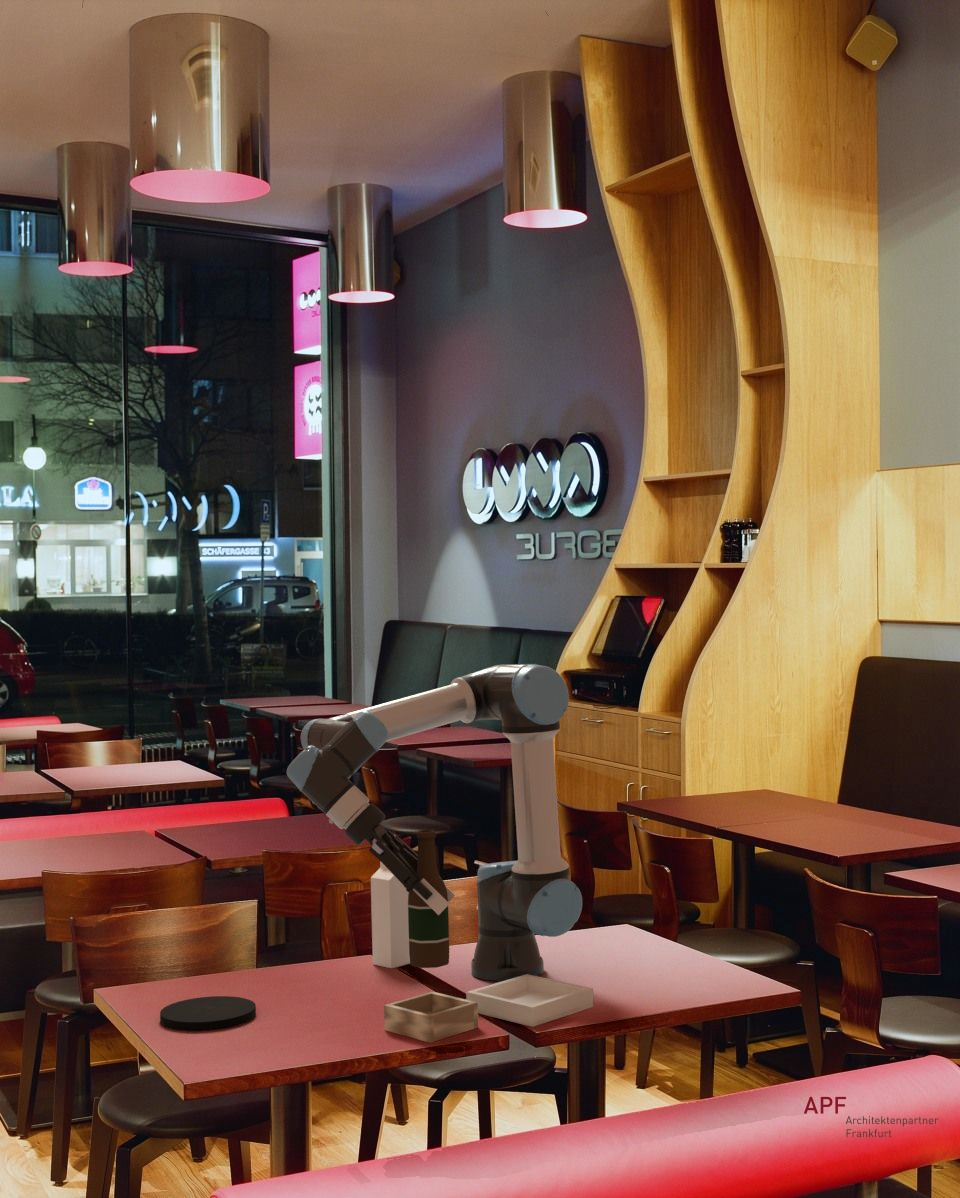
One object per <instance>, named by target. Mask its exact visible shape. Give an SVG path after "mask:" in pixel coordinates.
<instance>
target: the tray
mask: <svg viewBox="0 0 960 1198" xmlns="http://www.w3.org/2000/svg"><path fill="white" fill-rule="evenodd" d="M465 994H466V995H465V997H466V998H465V1000H470V1001H474V1002H478V1015H484V1016H488V1017H491V1018H497V1019H501V1020H504V1021H507V1022H512V1023H516V1024H520V1025H523V1026H528V1027H532V1028H534V1027H538V1026H540V1025H543V1024H547V1023H548V1022H552V1021H555V1020H559V1019H561V1018H564V1017H568V1016H570V1015H573V1014H575V1013H579V1012H582V1011H585V1010H588V1009H592V1008H593V1007H594V988H593V987H588V986H586V985H585V986H584V985H579V984H574V983H570V982H565V981H561V980H556V979H552V978H545V977H543V976H542V977H541V976H533V975H529V974H526V975H522V976H519V977H516V978H512V979H509V980H505V981H497V982H495V983H492V984H488V985H486V986H482V987H479V988H475V989H474V988H473V989H471V990H469V991H465Z"/></svg>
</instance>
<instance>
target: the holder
mask: <svg viewBox="0 0 960 1198" xmlns="http://www.w3.org/2000/svg"><path fill="white" fill-rule="evenodd" d="M383 1009H384V1010H383V1011H384V1012H383V1014H384V1015H383V1016H384V1017H383V1018H384V1019H383V1020H384V1021H383V1022H384V1031H386V1032H390V1033H395V1034H398V1035H401V1036H404V1037H405V1036H406V1037H409V1038H412V1039H416V1040H419V1041H423V1042H426V1043H434V1042H437V1041H440V1040H443V1039H445V1038H449V1037H452V1036H455V1035H460V1034H462V1033H464V1032H469V1031H470V1030H474V1029H477V1028H479V1013H478V1002H474V1001H470V1000H466V998H465V999H464V998H461V997H457V996H453V995H448V994H444V993H440V992H435V991H429V992H426V993H422V994H417V995H414V996H411V997H408V998H405V999H402V1000H397V1001H395V1002H391V1003H387V1004H384V1005H383Z"/></svg>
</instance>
